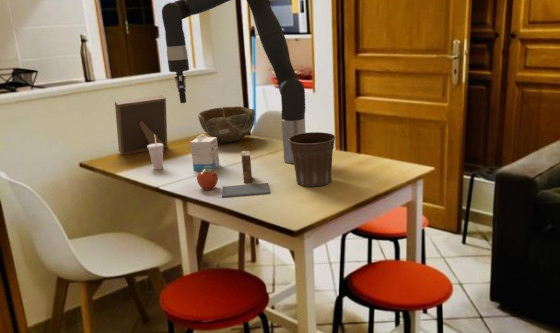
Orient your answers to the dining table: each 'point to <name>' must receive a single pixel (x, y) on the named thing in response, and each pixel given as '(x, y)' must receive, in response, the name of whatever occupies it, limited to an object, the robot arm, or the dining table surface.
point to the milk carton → (204, 152)
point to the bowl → (227, 122)
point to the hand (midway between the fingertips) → (183, 101)
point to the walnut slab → (246, 166)
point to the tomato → (207, 179)
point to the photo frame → (141, 123)
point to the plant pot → (312, 158)
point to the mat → (245, 190)
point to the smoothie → (156, 154)
